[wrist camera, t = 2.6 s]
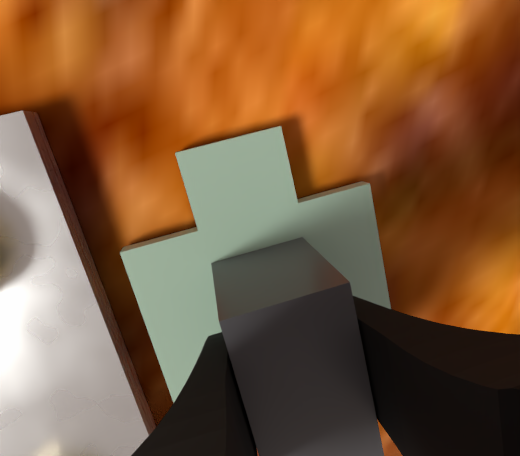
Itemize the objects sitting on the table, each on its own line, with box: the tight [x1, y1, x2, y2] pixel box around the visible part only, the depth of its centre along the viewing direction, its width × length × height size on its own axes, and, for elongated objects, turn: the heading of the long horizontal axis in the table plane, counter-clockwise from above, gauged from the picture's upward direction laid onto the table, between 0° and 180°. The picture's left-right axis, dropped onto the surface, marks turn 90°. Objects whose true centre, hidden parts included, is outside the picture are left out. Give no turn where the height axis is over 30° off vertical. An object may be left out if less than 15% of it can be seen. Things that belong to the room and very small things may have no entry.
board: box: [120, 126, 391, 456], centre depth 11 cm, size 8×12×5 cm, turn 14°
